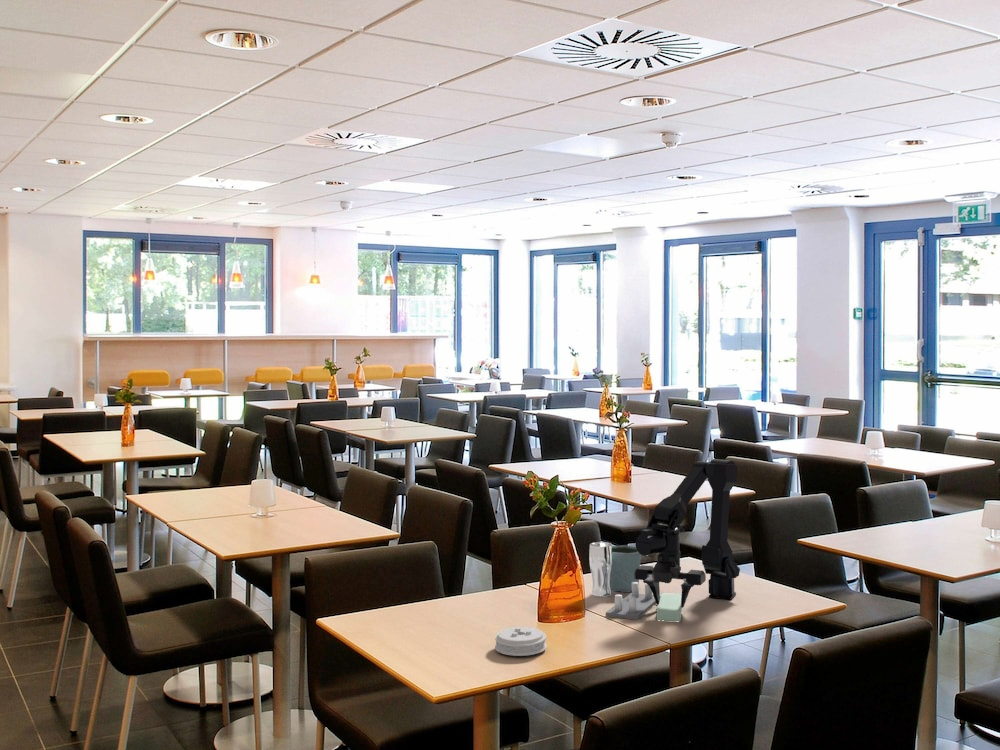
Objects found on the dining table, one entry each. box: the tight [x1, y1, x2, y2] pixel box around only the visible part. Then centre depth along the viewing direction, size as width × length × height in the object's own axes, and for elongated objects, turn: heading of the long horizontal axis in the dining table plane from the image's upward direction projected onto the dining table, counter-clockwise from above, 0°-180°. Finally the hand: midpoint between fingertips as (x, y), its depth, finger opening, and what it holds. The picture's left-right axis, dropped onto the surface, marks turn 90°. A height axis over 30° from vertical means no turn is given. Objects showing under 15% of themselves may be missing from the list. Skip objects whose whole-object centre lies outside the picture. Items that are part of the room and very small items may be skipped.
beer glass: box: [588, 541, 613, 598], centre depth 273 cm, size 7×7×15 cm
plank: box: [656, 592, 683, 622], centre depth 255 cm, size 6×18×3 cm, turn 166°
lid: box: [494, 626, 548, 657], centre depth 227 cm, size 13×13×5 cm
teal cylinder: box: [611, 545, 642, 593], centre depth 279 cm, size 10×10×12 cm
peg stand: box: [605, 582, 661, 621], centre depth 259 cm, size 9×21×5 cm, turn 153°
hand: (670, 606), depth 255 cm, fingers open, 7 cm apart
